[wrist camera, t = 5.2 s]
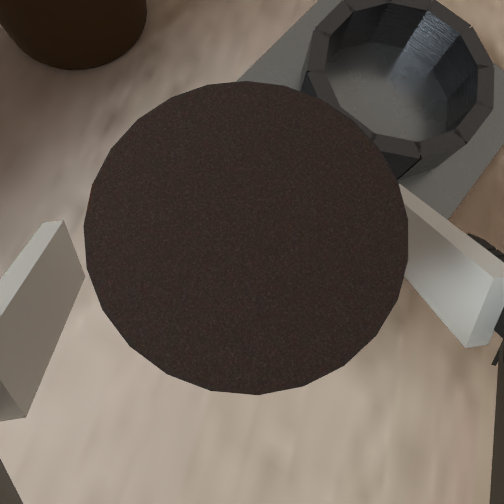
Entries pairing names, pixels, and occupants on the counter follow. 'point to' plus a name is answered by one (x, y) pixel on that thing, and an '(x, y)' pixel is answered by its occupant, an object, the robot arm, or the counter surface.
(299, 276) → the deodorant
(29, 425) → the counter surface
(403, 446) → the counter surface
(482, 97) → the duct flange
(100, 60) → the olive oil
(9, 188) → the counter surface
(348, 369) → the counter surface
